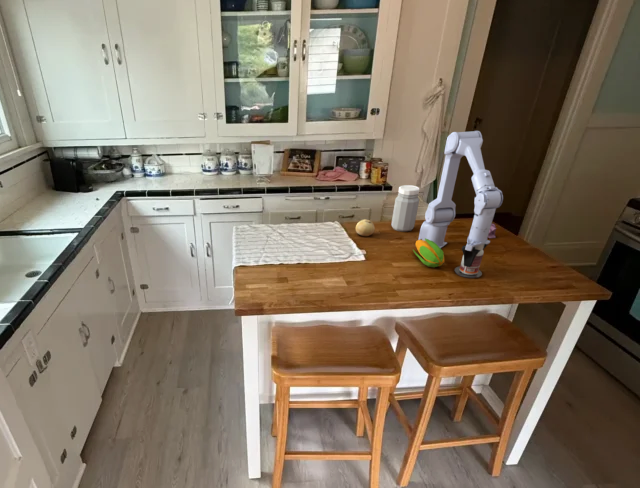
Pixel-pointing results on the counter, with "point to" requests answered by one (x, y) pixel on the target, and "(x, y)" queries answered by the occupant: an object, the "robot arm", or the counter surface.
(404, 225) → the jar
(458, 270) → the coaster
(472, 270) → the pill bottle
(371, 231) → the onion
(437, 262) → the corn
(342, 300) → the counter surface
